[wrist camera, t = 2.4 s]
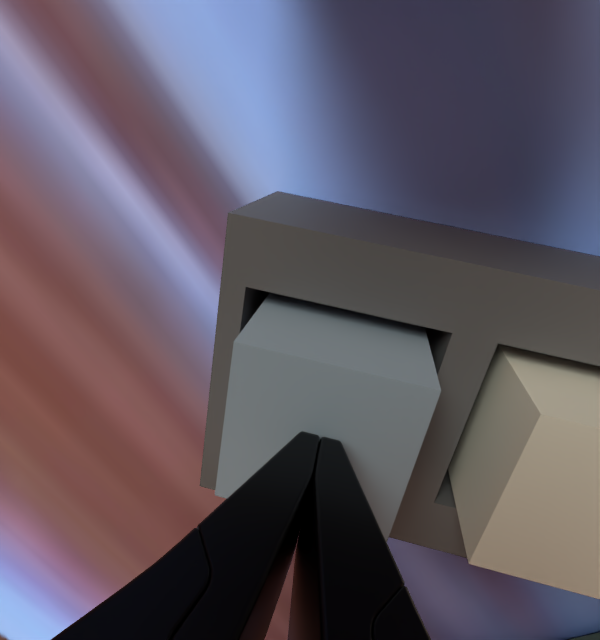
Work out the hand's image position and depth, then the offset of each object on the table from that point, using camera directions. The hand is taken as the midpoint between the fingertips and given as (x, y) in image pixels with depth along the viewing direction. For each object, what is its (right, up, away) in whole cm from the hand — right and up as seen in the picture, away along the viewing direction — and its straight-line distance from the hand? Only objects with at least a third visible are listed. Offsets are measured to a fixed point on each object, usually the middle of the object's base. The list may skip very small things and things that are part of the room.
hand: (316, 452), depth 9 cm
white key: (+6, 0, +2) cm, 7 cm away
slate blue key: (0, +1, +3) cm, 3 cm away
